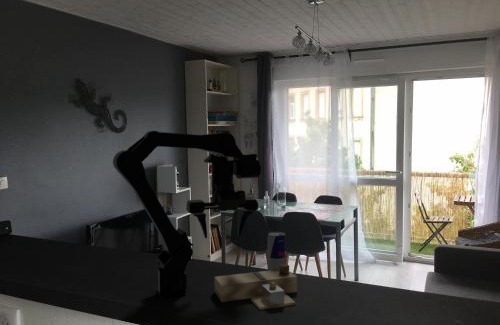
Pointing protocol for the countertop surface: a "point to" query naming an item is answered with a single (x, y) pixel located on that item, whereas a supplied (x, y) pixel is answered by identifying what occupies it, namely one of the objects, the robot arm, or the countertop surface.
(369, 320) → the countertop surface
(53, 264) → the countertop surface
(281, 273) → the plane body
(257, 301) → the flat wooden board
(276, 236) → the energy drink
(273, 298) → the grey piece
